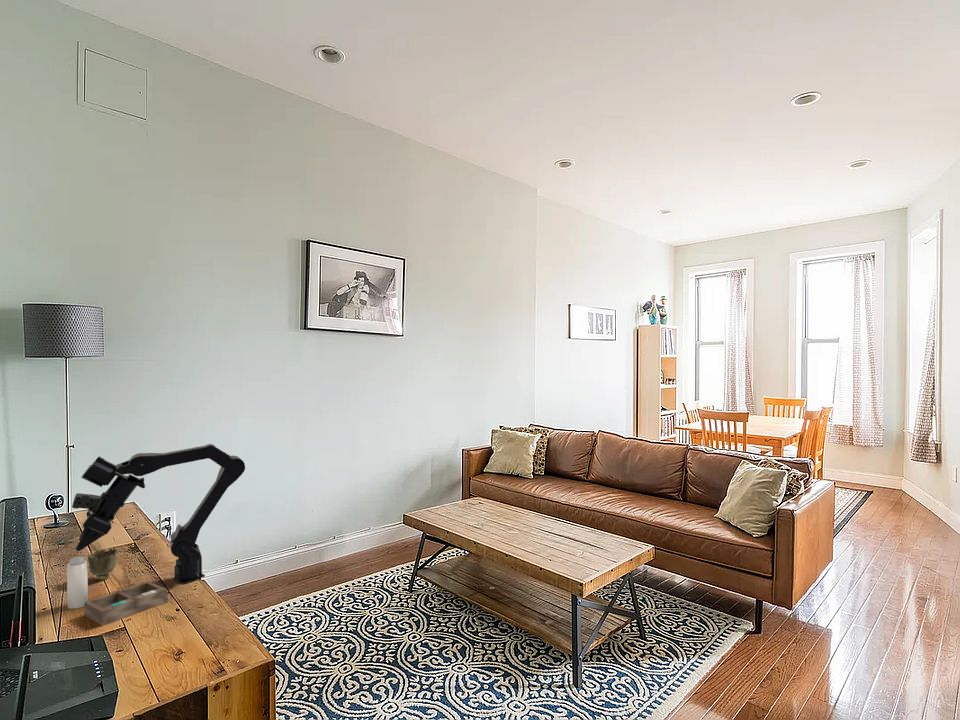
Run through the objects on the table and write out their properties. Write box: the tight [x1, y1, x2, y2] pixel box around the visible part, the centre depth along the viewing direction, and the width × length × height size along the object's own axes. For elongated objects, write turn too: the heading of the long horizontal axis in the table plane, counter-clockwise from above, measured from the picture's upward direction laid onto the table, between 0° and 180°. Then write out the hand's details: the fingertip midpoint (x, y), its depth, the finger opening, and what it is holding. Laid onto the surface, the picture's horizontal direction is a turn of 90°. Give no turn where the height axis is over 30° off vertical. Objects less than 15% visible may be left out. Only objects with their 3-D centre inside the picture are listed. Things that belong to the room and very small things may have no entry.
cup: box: [87, 547, 118, 581], centre depth 167 cm, size 8×7×8 cm
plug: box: [66, 556, 89, 610], centre depth 149 cm, size 4×4×12 cm
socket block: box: [83, 581, 168, 626], centre depth 147 cm, size 16×10×4 cm, turn 147°
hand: (78, 545), depth 153 cm, fingers open, 9 cm apart
